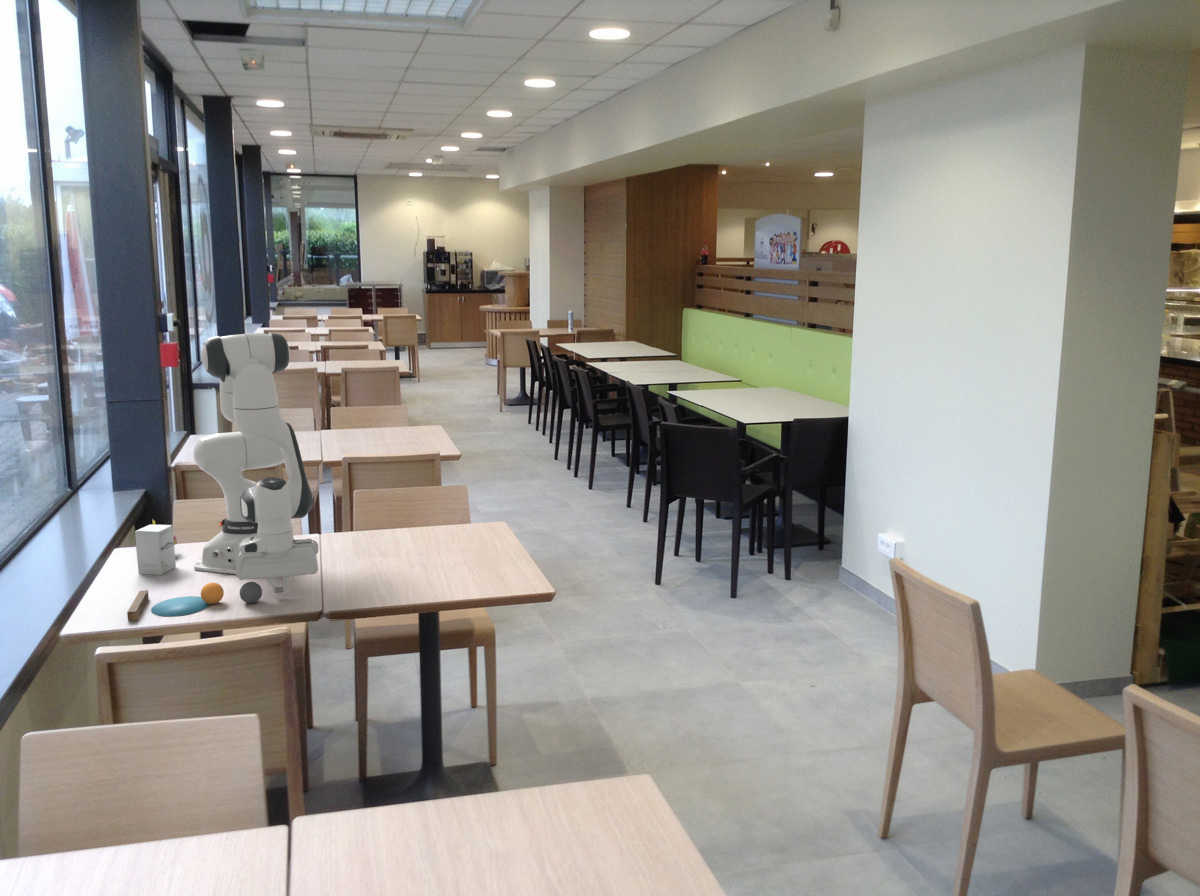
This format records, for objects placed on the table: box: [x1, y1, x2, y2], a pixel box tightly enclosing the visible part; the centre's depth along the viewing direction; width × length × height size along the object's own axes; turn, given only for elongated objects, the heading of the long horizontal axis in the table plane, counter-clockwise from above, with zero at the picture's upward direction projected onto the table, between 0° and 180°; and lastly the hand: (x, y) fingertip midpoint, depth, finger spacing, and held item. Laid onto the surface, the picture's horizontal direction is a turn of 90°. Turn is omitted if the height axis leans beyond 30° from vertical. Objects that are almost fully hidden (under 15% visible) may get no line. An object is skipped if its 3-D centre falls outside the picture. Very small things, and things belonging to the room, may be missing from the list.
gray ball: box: [239, 581, 263, 604], centre depth 255 cm, size 6×6×6 cm
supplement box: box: [134, 524, 177, 576], centre depth 280 cm, size 7×7×13 cm
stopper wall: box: [126, 589, 150, 622], centre depth 250 cm, size 2×16×2 cm, turn 14°
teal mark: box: [150, 595, 211, 617], centre depth 253 cm, size 14×14×1 cm
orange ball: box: [200, 582, 225, 605], centre depth 254 cm, size 6×6×6 cm
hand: (279, 592), depth 258 cm, fingers closed
